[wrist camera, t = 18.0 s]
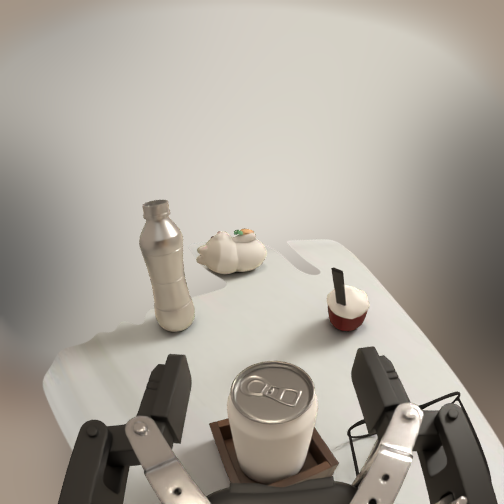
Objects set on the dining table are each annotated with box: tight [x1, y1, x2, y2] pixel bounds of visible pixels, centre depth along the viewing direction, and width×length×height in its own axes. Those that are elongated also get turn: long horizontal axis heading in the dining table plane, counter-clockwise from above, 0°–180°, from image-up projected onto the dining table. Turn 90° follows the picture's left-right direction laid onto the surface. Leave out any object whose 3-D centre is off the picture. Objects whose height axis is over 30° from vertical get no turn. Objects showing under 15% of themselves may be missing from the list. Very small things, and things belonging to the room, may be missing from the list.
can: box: [227, 361, 318, 484], centre depth 19 cm, size 6×6×12 cm
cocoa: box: [327, 268, 370, 331], centre depth 39 cm, size 10×6×12 cm, turn 113°
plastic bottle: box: [139, 200, 195, 332], centre depth 40 cm, size 6×7×20 cm
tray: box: [209, 418, 339, 487], centre depth 21 cm, size 9×9×4 cm
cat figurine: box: [196, 229, 267, 274], centre depth 59 cm, size 10×8×15 cm
